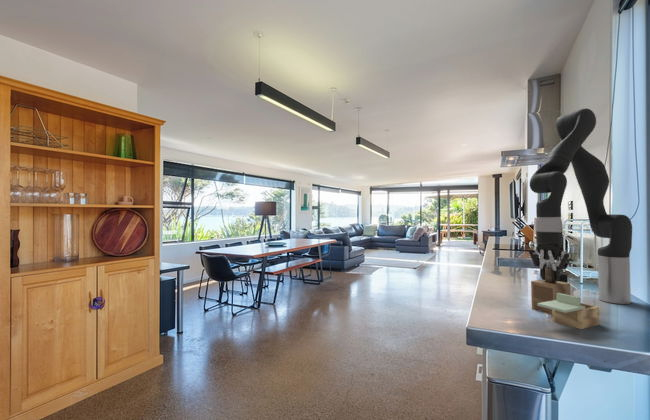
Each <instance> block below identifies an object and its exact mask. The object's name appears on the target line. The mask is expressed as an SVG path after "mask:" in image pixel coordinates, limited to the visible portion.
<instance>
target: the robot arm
mask: <svg viewBox="0 0 650 420" xmlns="http://www.w3.org/2000/svg"><path fill="white" fill-rule="evenodd" d="M596 125H597V116H596V114H595V112H594V111H593V110H591V109H590V108H582V109H581V108H580V109H578V110H574V111H572V112H570V113H567V114H563V115H561V116H559V117H557V118H556V122H555V127H556V131H557V133H558V136H559V139H560V140H561V141H560V142H559V143H558V144H556V145H555V147H554V148H553V149H552V150H551V151H550V152H549V155H547V158H546V161H545V162H544V163H543V164H542V165H541V166H540V167H539V168H538V169H537V170H536V171H535V172H534V173H533V174H532V176H531V178H530V180H529V188H530V190H531V191H532V192H533V193H535V194H549V193H550V194H549V196H548V197H547V198H546V199H542V200H539V201H537V202H536V207H535V209H536V220H535V236H536V237H535V239H536V240H535V243H536V244H537V245H536V247H535V249H529V250H528V253H529V256H530V258H531V261H532V262H533V264H534V266H535V267H538V268H539V269H540V271H539V272H540V278H541V280H545V267H549V266H548V265H549V262H550V265H551V267H552V268H553V270H554V271H552V280H553V282H558V281H559V280H560V272H561V271H563V270H566V269H567V268H568V266H569V264H570V262H571V260H572V258H573V253H571V252H567V251H566V250H564V248H563V244H564V241H563V239H564V238H563V237H564V236H563V230H564V229H563V219H562V203H563V202H562V201H563V197H564V195H565V191H566V188H567V185H568V181H567V180H568V179H567V176H566V175H565V173H566V172H567V171H568V169H569V166H570V165H571V167H572V169H573V172H574V175H575V178H576V181H577V183H578V184H577V185H578V186H579V188H580V192H581V194H582V198H583V201H584V204H585V207H586V211H587V216H588V222H589V225H590V229H591V231H592V233H593V235H595V236H596V237H598V238H604V239H609V243H608V244H607V245H604V246H601V247H598V249H597V275H598V277H597V279H598V280H597V281H598V283H597V284H598V286H597V287H598V300H600V301H602V302H606V303H611V304H617V305H618V304H620V305H628V304H631V303H632V298H631V297H632V293H631V292H632V289H631V264H630V263H631V261H630V260H631V258H630V255H631V250H632V244H633V242H632V241H633V224H632V221H631V219H630V218H629V216H628V215H625V214H614V213H613V214H608V213H607V211H606V208H605V204H604V203H605V201H604V200H605V197H606V194H607V191H608V188H609V185H610V178H609V175H608V172H607V169H606V166H605V164H604V162H602V161H601V160H600V159H599V158H598V157H597V156H595V155H594V154H592V153H591V152H589V151H587V150H586V149H585V148H584V147H583V146H582V145H583V143H585V142H586V140H587V139H588V138H589V136H590V135H591V134H592V133H593V131H594V129H595V128H596ZM560 258H561V259H560Z"/></svg>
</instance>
